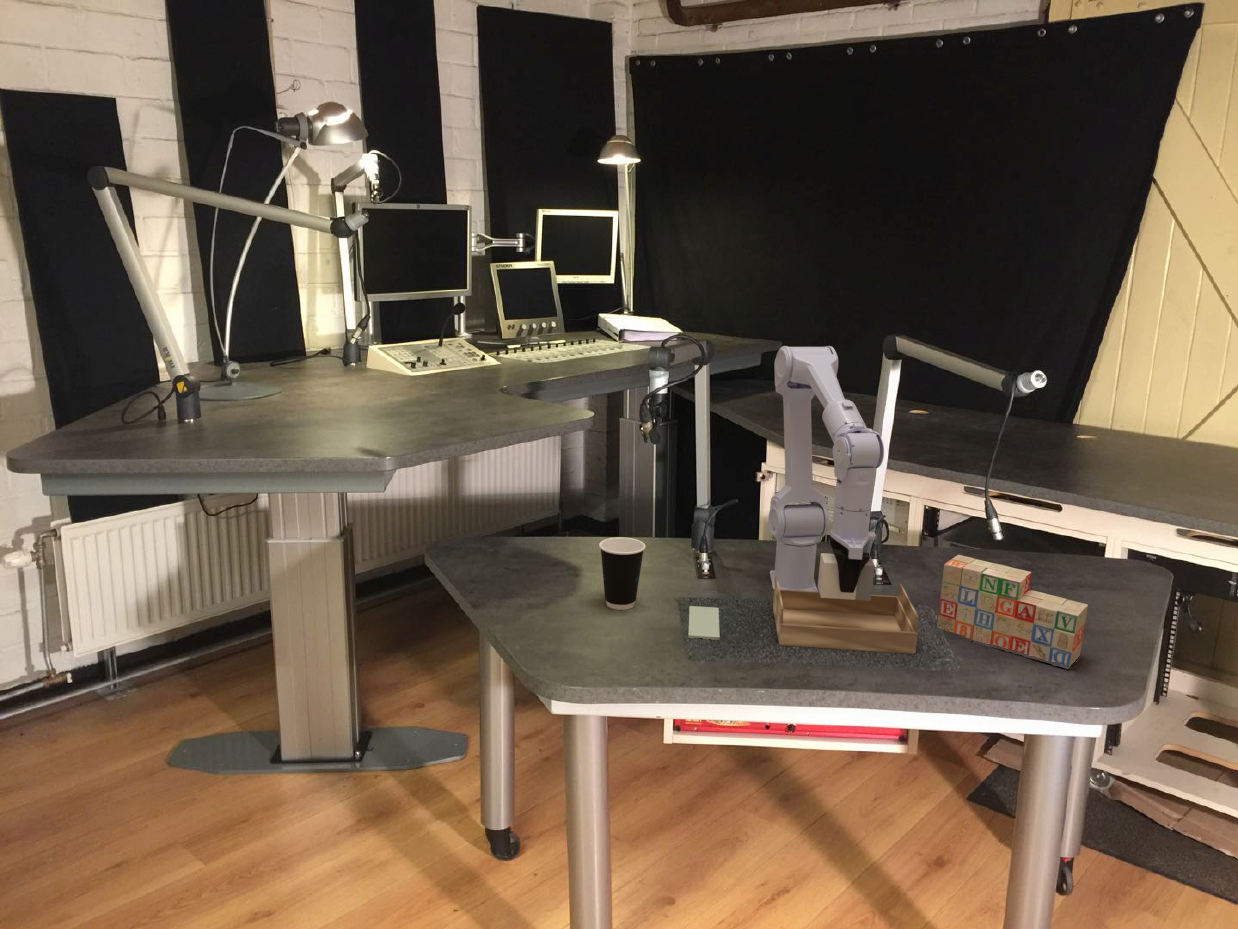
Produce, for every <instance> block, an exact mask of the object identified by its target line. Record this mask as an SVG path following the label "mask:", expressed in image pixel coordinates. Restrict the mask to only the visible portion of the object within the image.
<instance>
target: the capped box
mask: <svg viewBox="0 0 1238 929" xmlns="http://www.w3.org/2000/svg"><path fill="white" fill-rule="evenodd" d="M819 560H820V561H819V571H818V580H817V591H819V593H820V597H821V598H835V599H851V600H867V601H871V596H872V595H873V586H874V585H873V584H874V575H875V569H876V568H875V566H876V565H875V563H874V561H873V560H872V557H871V556H870V559H869V561H868V562H867V563H866V565H865V566H864V568H863V569H862V571H861V574H860V576H859V579H858V582H857V585H856V588H855V590H854V593H847V592H841V591H840V586H839V572H838V565H837V561H836V558H835V555H834V554H833V553H822V552H820V558H819Z"/></svg>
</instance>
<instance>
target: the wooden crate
mask: <svg viewBox="0 0 1238 929" xmlns="http://www.w3.org/2000/svg"><path fill="white" fill-rule="evenodd" d="M772 609H773V610H772V611H773V616H774V621H775V628H776V634H777V639H778V644H779V645H778V646H788V647H803V648H804V647H805V648H818V649H819V648H820V649H835V650H847V651H850V650H851V651H864V652H878V653H879V652H881V653H883V652H884V653H895V654H896V653H897V654H909V655H910V654H911V655H916V650H917V642H918V635H919V634H918V626H919V616H918V613H917V611H916V609H915V607H914V606H913V603H912V601H911V599H910V597H909V596H908V594H907V592H906V590H905V587H904V586H903V584H902V583H899V588H898V595H883V594H872V596H871V601H867V600H851V599H835V598H821V597H820V593H819V590H817V591H804V590H788V589H780V587H779V582H778V577H777V576H776V578H775V589H773V603H772Z"/></svg>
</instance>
